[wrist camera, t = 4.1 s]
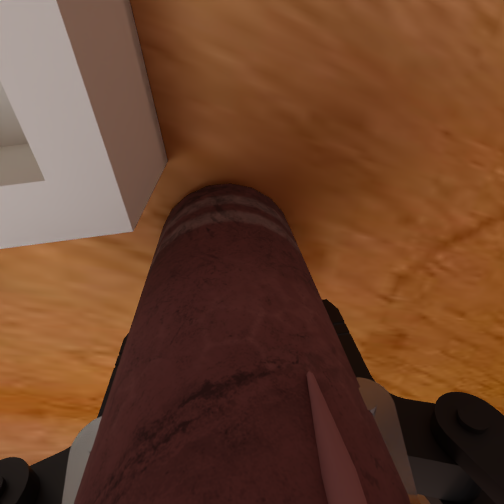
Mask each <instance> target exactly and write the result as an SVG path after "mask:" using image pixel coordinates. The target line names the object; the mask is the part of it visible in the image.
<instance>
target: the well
mask: <svg viewBox="0 0 504 504" xmlns="http://www.w3.org/2000/svg"><path fill="white" fill-rule="evenodd" d="M167 162H168V160H167V156H166V152H165V148H164V143H163V139H162V135H161V131H160V126H159V122H158V118H157V114H156V110H155V105H154V101H153V97H152V93H151V88H150V84H149V80H148V76H147V72H146V67H145V63H144V59H143V55H142V50H141V46H140V42H139V38H138V34H137V29H136V25H135V21H134V17H133V12H132V8H131V4H130V0H0V249H3V248H11V247H18V246H26V245H34V244H41V243H49V242H56V241H64V240H72V239H79V238H87V237H95V236H102V235H110V234H118V233H125V232H133V231H134V229H135V227H136V225H137V223H138V221H139V219H140V217H141V215H142V212H143V210H144V208H145V206H146V204H147V202H148V200H149V198H150V196H151V194H152V192H153V190H154V188H155V186H156V184H157V182H158V180H159V178H160V176H161V174H162V172H163V170H164V168H165V166H166V164H167Z"/></svg>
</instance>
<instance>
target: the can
mask: <svg viewBox="0 0 504 504" xmlns="http://www.w3.org/2000/svg"><path fill="white" fill-rule="evenodd" d="M358 388H360V385H359V383H358V381H357V379H356V376H355V374H354V372H353V369H352V367H351V365H350V363H349V360H348V358H347V356H346V354H345V351H344V349H343V347H342V345H341V342H340V340H339V338H338V336H337V333H336V331H335V329H334V327H333V324H332V322H331V320H330V318H329V315H328V313H327V311H326V308H325V306H324V304H323V302H322V299H321V297H320V295H319V293H318V290H317V288H316V286H315V284H314V281H313V279H312V277H311V275H310V272H309V270H308V268H307V266H306V263H305V261H304V259H303V256H302V254H301V252H300V250H299V247H298V245H297V243H296V241H295V238H294V236H293V234H292V232H291V229H290V227H289V225H288V223H287V220H286V218H285V216H284V214H283V212H282V211H281V210H280V209H279V207H278V206H277V205H276V204H275V203H274V202H273V201H272V200H271V199H270V198H269V197H267V196H265V195H264V194H262V193H260V192H258V191H256V190H255V189H253V188H250V187H245V186H240V185H235V184H222V185H213V186H207V187H204V188H202V189H200V190H198V191H195V192H193V193H191V194H189V195H187V196H186V197H185V198H184V199H183V200H182V201H181V202H179V203H178V204H177V205H176V206H175V207H174V208H173V209H172V211H171V213H170V215H169V217H168V218H167V220H166V222H165V224H164V226H163V229H162V232H161V235H160V239H159V242H158V245H157V248H156V251H155V254H154V257H153V260H152V263H151V266H150V269H149V273H148V276H147V279H146V282H145V285H144V288H143V291H142V294H141V297H140V300H139V303H138V307H137V310H136V313H135V316H134V319H133V322H132V325H131V328H130V331H129V334H128V337H127V341H126V344H125V347H124V350H123V353H122V356H121V359H120V362H119V365H118V368H117V371H116V374H115V378H114V381H113V384H112V387H111V390H110V393H109V396H108V399H107V402H106V405H105V408H104V412H103V415H102V418H101V421H100V424H99V428H98V431H97V435H96V438H95V441H94V444H93V447H92V450H91V452H90V455H89V458H88V461H87V464H86V467H85V470H84V473H83V476H82V479H81V483H80V486H79V489H78V492H77V495H76V498H75V501H74V504H410V500H409V496H408V494H407V492H406V489H405V487H404V485H403V482H402V480H401V478H400V476H399V473H398V471H397V469H396V467H395V464H394V462H393V460H392V458H391V455H390V453H389V451H388V449H387V446H386V444H385V442H384V440H383V437H382V435H381V433H380V431H379V428H378V426H377V424H376V421H375V419H374V417H373V415H372V413H371V412H369V411H368V410H367V407H366V405H365V403H364V400H363V398H362V396H361V393H360V391H359V389H358Z"/></svg>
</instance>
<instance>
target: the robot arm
mask: <svg viewBox="0 0 504 504" xmlns="http://www.w3.org/2000/svg"><path fill="white" fill-rule="evenodd" d="M322 302H323V304H324V306H325V308H326V311H327V313H328V315H329V318H330V320H331V322H332V324H333V327H334V329H335V331H336V333H337V336H338V338H339V340H340V342H341V345H342V347H343V349H344V351H345V354H346V356H347V358H348V360H349V363H350V365H351V367H352V369H353V372H354V374H355V376H356V379H357V381H358V383H359V385H360V388H358V389H359V391H360V393H361V396H362V398H363V400H364V403H365V405H366V407H367V410H368V411H369V412H371V413H372V415H373V417H374V419H375V421H376V424H377V426H378V428H379V431H380V433H381V435H382V437H383V440H384V442H385V444H386V446H387V449H388V451H389V453H390V455H391V458H392V460H393V462H394V464H395V467H396V469H397V471H398V473H399V476H400V478H401V480H402V482H403V485H404V487H405V489H406V492H407V494H408V496H409V500H410V504H504V415H503V414H501V413H500V412H499V411H498V410H496V409H495V408H494V407H493V406H491V405H490V404H488V403H487V402H486V401H484V400H482V399H480V398H478V397H476V396H474V395H471V394H467V393H463V392H450V393H446V394H444V395H442V396H441V397H439V399H438V400H437V401H436V404H434V403H428V402H421V401H415V400H409V399H404V398H400V397H397V396H395V395H393V394H390V393H389V392H388V391H387V390H386V389H385V388H384V387H382V386H381V385H380V384H378V383H376V382H375V381H374V379H373V378H372V376H371V375H370V373H369V371H368V369H367V367H366V365H365V363H364V361H363V359H362V357H361V354H360V352H359V350H358V348H357V346H356V344H355V342H354V340H353V338H352V336H351V334H350V333H349V330H348V328H347V326H346V324H345V323H344V320H343V318H342V316H341V314H340V312H339V310H338V308H336V307H335V306H334V305H333V304H332V303H330V302H329V301H328V300H327V299H325V300H322ZM128 334H129V333H128ZM128 334H127V336H126V337H125V338H124V340H123V343H122V346H121V349H120V352H119V356H118V358H117V361H116V364H115V368H114V370H113V373H112V376H111V379H110V382H109V385H108V388H107V391H106V394H105V397H104V400H103V403H102V406H101V409H100V412H99V414H98V417H97V419H95V420H93V421H92V422H90V423H89V424H88V425H87V426H85V427H84V428H83V429H82V430H81V432H80V433H79V434H78V435H77V437H76V438H75V440H74V442H73V443H72V446H71V447H69V448H67V449H65V450H64V451H62V452H59V453H57V454H55V455H53V456H51V457H49V458H46V459H44V460H42V461H40V462H38V463H36V464H33V465H31V466H29V465H28V464H27V463H26V462H25V461H24V460H23V459H21V458H17V457H9V458H5V459H2V460H0V504H74V501H75V498H76V495H77V492H78V489H79V486H80V483H81V479H82V476H83V473H84V470H85V467H86V464H87V461H88V458H89V455H90V452H91V450H92V447H93V444H94V441H95V438H96V435H97V431H98V428H99V424H100V421H101V418H102V415H103V412H104V408H105V405H106V402H107V399H108V396H109V393H110V390H111V387H112V384H113V381H114V378H115V374H116V371H117V368H118V365H119V362H120V359H121V356H122V353H123V350H124V347H125V344H126V341H127V337H128Z"/></svg>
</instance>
